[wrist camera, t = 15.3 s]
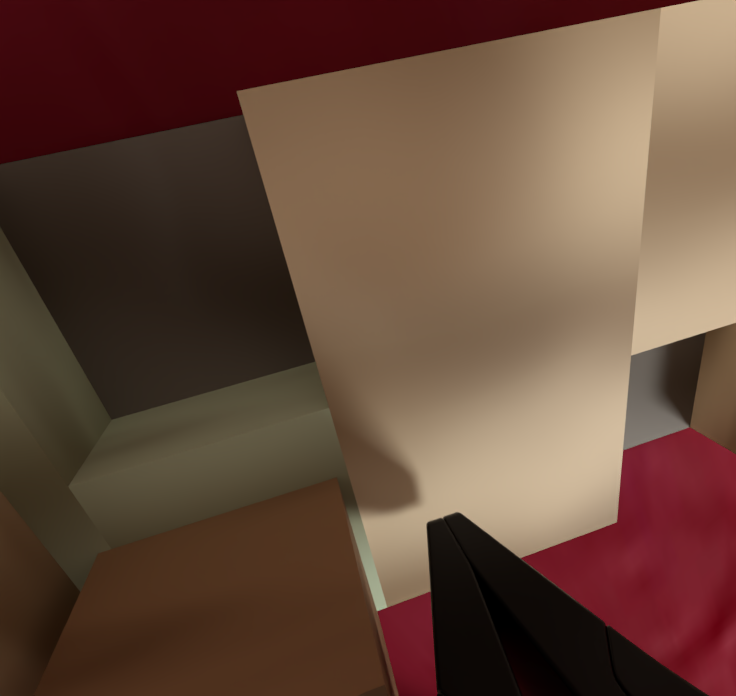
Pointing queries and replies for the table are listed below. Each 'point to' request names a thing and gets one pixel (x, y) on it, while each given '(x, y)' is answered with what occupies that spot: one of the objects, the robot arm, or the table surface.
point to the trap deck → (372, 305)
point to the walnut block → (230, 610)
